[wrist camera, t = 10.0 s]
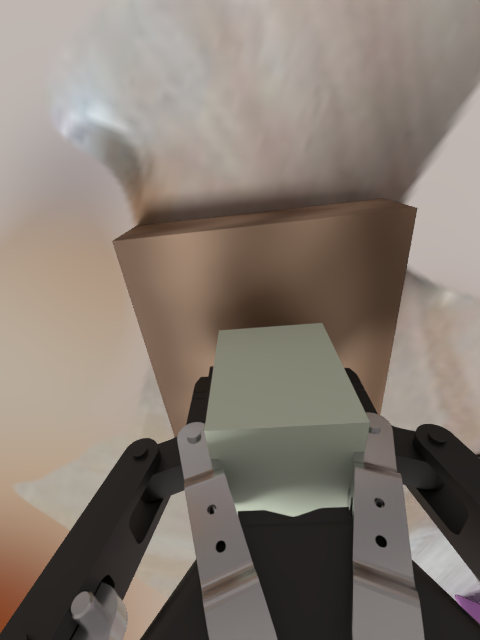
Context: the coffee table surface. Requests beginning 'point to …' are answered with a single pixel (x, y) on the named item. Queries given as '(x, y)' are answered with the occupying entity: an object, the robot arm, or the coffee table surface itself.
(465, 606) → the toy chair
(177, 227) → the walnut block
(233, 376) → the sage block
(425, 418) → the coffee table surface
